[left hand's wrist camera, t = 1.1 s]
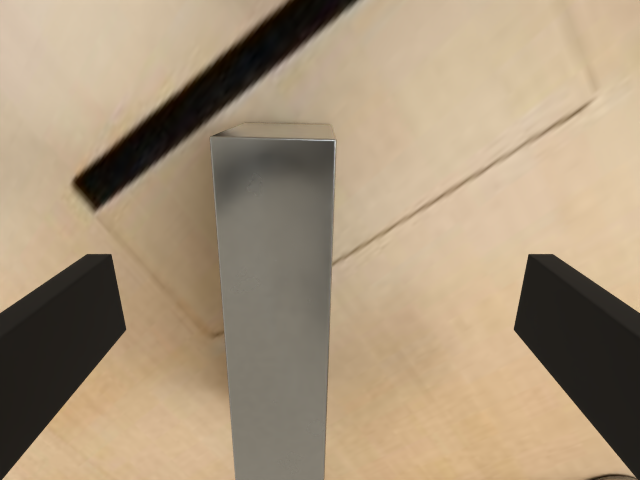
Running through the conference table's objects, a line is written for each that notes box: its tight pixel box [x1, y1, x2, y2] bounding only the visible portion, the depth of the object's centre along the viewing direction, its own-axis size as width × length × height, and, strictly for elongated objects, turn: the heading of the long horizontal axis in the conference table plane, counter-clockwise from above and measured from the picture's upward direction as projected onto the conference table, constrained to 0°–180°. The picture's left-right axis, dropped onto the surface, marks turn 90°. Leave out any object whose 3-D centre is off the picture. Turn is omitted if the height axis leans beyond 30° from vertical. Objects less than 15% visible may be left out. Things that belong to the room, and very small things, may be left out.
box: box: [210, 122, 336, 480], centre depth 25 cm, size 22×6×9 cm, turn 179°
